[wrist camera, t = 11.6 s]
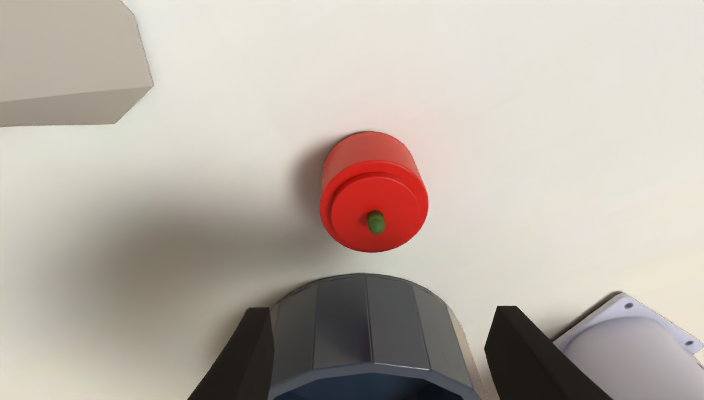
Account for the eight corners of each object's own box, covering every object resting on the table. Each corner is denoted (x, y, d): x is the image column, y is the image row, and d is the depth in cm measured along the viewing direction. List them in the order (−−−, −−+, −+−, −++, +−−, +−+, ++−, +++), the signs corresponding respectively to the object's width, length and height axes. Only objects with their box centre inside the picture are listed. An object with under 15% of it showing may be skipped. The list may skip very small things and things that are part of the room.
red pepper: (433, 161, 19) (461, 215, 15) (379, 226, 21) (389, 291, 17) (356, 111, 18) (361, 154, 13) (305, 186, 20) (295, 245, 15)
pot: (495, 293, 24) (541, 384, 19) (422, 418, 31) (439, 510, 26) (269, 256, 22) (246, 345, 17) (246, 399, 29) (224, 494, 24)
